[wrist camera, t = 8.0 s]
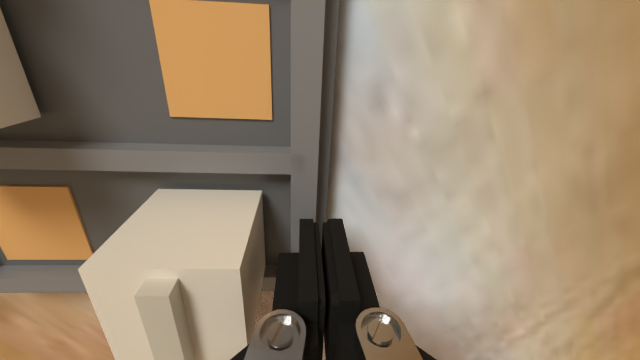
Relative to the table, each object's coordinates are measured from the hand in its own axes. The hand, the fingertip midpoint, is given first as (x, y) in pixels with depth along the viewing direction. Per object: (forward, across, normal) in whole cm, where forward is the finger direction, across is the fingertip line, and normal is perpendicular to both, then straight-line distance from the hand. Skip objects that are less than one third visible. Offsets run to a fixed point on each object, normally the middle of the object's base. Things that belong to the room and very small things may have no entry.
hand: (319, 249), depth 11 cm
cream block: (+1, +4, 0) cm, 4 cm away
